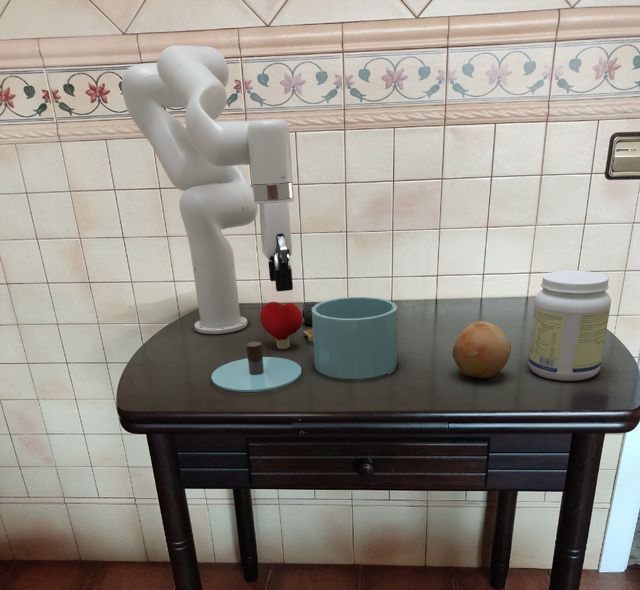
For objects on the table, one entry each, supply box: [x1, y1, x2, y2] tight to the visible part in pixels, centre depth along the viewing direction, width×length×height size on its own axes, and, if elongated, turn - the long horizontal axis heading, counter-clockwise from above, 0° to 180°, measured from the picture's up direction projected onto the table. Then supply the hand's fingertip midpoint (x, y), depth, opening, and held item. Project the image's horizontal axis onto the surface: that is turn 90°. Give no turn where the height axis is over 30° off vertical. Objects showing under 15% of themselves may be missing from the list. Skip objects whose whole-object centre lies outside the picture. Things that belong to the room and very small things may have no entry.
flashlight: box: [301, 301, 319, 326], centre depth 140 cm, size 15×5×5 cm, turn 94°
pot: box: [312, 296, 398, 380], centre depth 112 cm, size 16×16×12 cm
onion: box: [452, 320, 512, 379], centre depth 105 cm, size 10×10×10 cm
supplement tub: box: [527, 270, 612, 382], centre depth 104 cm, size 12×12×17 cm
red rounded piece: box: [259, 301, 304, 350], centre depth 123 cm, size 9×7×10 cm
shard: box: [303, 328, 314, 343], centre depth 128 cm, size 11×8×2 cm
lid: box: [211, 341, 303, 393], centre depth 110 cm, size 17×17×7 cm
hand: (281, 285), depth 119 cm, fingers open, 9 cm apart
